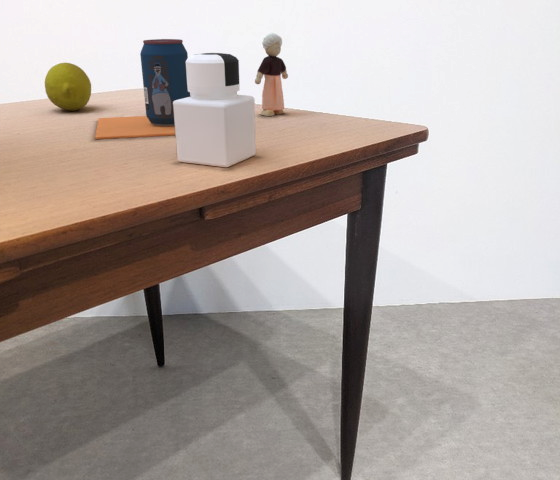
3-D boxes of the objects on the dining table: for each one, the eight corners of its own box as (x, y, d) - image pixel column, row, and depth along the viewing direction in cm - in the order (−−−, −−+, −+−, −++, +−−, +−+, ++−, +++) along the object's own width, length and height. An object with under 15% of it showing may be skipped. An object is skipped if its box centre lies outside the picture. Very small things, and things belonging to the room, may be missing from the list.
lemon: (92, 113, 104) (85, 64, 101) (44, 115, 103) (36, 66, 99) (96, 104, 114) (90, 59, 110) (53, 106, 112) (46, 60, 109)
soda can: (184, 117, 98) (178, 38, 93) (198, 124, 92) (192, 40, 87) (142, 121, 95) (134, 39, 90) (153, 129, 90) (145, 42, 85)
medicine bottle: (208, 150, 78) (202, 50, 73) (256, 155, 75) (254, 52, 70) (176, 162, 72) (167, 55, 67) (227, 168, 69) (222, 57, 64)
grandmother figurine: (272, 117, 99) (271, 34, 94) (252, 116, 101) (250, 34, 95) (294, 111, 105) (294, 32, 100) (275, 109, 107) (274, 32, 101)
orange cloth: (95, 139, 85) (94, 137, 85) (98, 119, 99) (98, 118, 99) (249, 131, 89) (249, 129, 89) (231, 113, 103) (231, 111, 103)
